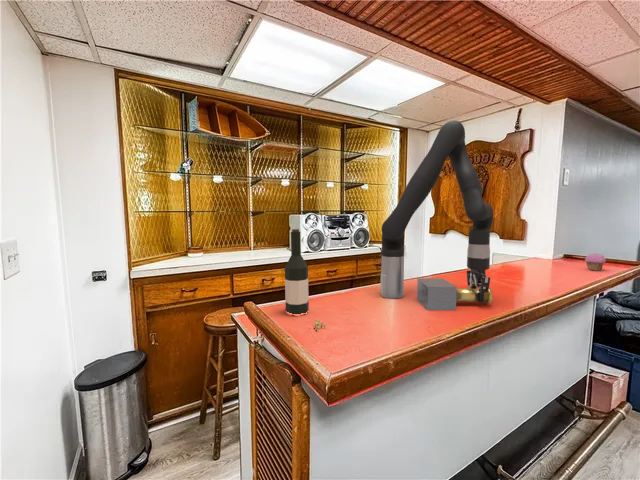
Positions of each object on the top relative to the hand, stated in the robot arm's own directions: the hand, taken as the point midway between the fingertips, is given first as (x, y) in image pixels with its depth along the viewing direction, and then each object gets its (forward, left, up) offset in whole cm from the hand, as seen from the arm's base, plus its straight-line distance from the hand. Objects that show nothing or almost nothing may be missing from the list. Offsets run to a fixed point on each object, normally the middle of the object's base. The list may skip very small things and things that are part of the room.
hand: (476, 300), depth 113 cm
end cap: (-2, 0, -1) cm, 3 cm away
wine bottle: (-67, -10, -2) cm, 68 cm away
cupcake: (+98, +66, -2) cm, 118 cm away
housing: (-15, 0, -2) cm, 16 cm away
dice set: (-59, -24, -3) cm, 64 cm away
